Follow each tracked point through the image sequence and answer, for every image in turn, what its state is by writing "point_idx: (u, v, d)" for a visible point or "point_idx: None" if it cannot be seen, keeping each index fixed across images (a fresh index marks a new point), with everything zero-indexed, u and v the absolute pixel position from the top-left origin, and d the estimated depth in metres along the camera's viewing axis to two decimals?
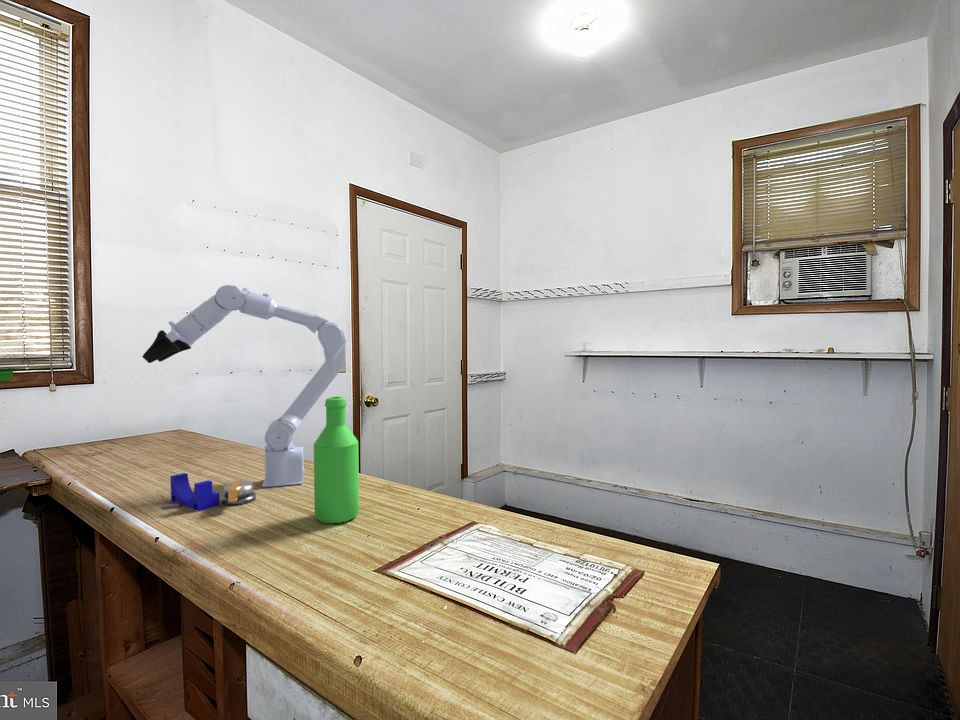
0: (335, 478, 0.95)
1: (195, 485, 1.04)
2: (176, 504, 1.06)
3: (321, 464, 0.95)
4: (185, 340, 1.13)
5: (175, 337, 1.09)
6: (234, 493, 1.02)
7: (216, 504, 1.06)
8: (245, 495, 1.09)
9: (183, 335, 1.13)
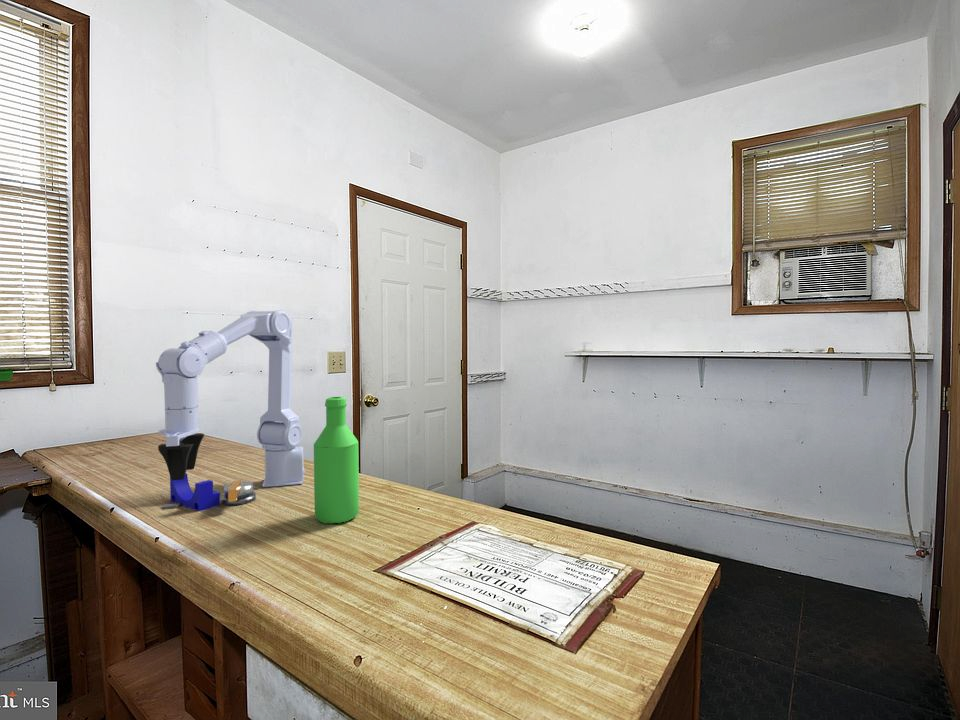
0: (335, 478, 0.95)
1: (196, 485, 1.04)
2: (176, 504, 1.06)
3: (321, 464, 0.95)
4: (188, 433, 0.95)
5: (175, 439, 0.91)
6: (234, 493, 1.02)
7: (217, 504, 1.07)
8: (245, 495, 1.09)
9: (182, 431, 0.95)
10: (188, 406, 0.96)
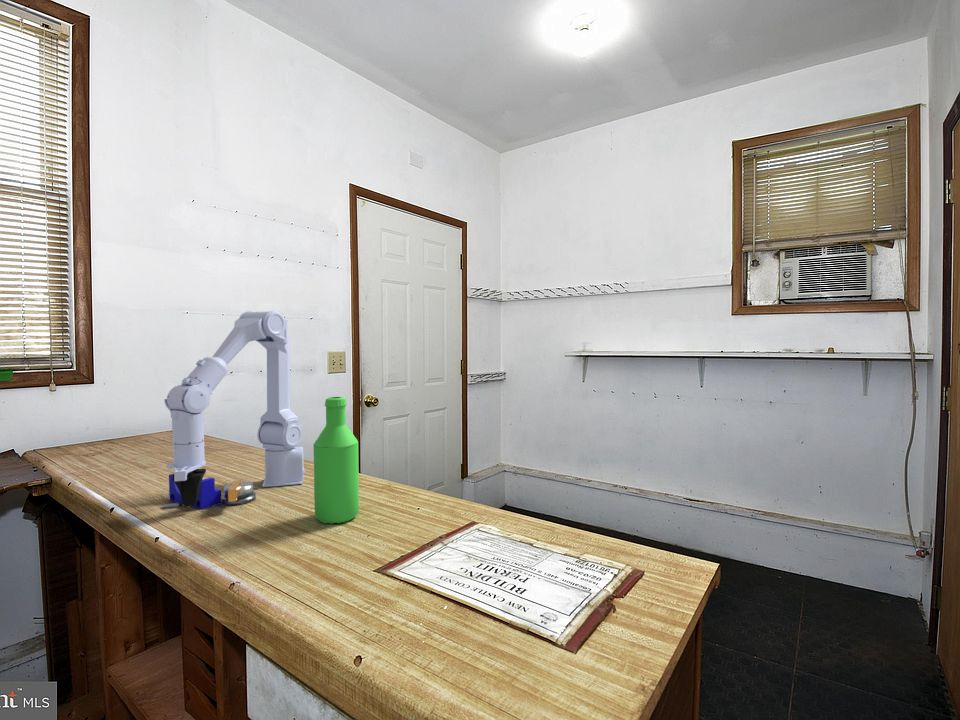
0: (335, 478, 0.95)
1: None
2: (176, 504, 1.06)
3: (321, 464, 0.96)
4: (195, 467, 0.99)
5: (183, 474, 0.95)
6: (234, 493, 1.02)
7: (218, 501, 1.08)
8: (245, 495, 1.09)
9: (189, 465, 0.99)
10: (193, 441, 1.00)
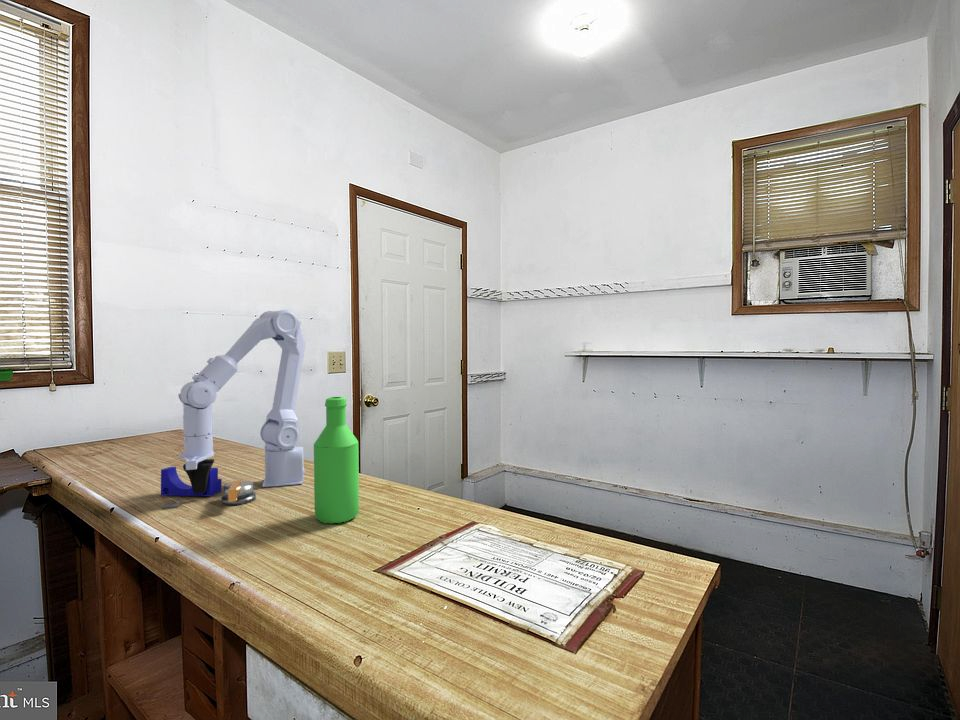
0: (335, 478, 0.95)
1: None
2: (176, 504, 1.06)
3: (321, 464, 0.95)
4: (204, 457, 1.07)
5: (194, 463, 1.03)
6: (234, 493, 1.02)
7: (219, 489, 1.16)
8: (245, 495, 1.09)
9: (199, 455, 1.08)
10: (198, 434, 1.07)
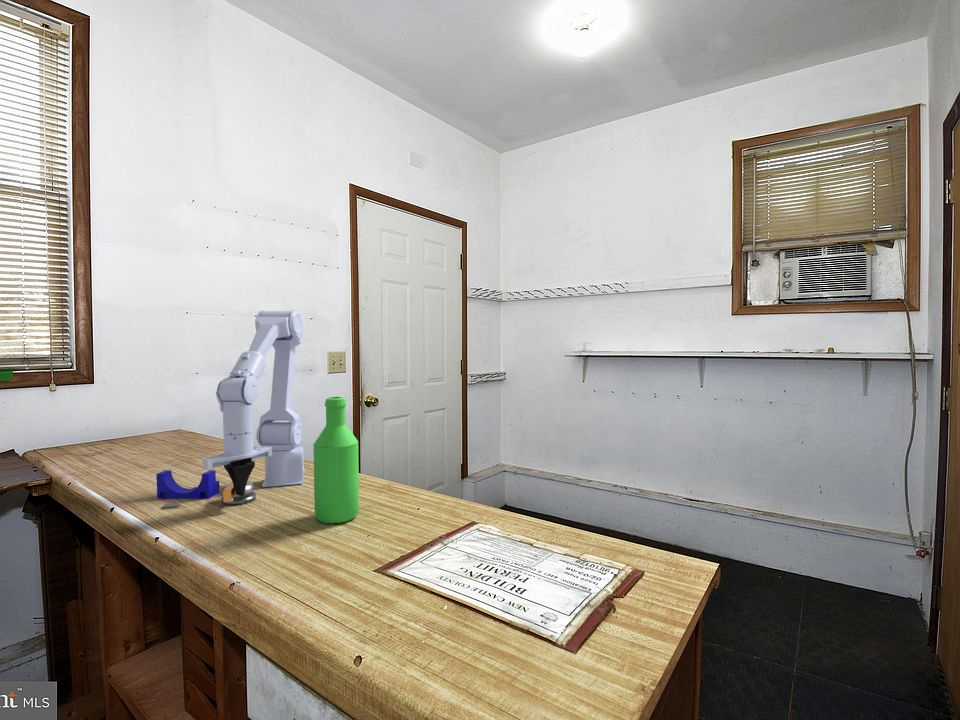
0: (335, 478, 0.95)
1: (203, 475, 1.11)
2: (176, 504, 1.06)
3: (321, 464, 0.95)
4: (227, 458, 1.00)
5: (206, 463, 0.98)
6: (229, 493, 1.02)
7: (217, 491, 1.15)
8: (244, 495, 1.08)
9: (227, 455, 1.02)
10: (248, 431, 1.03)
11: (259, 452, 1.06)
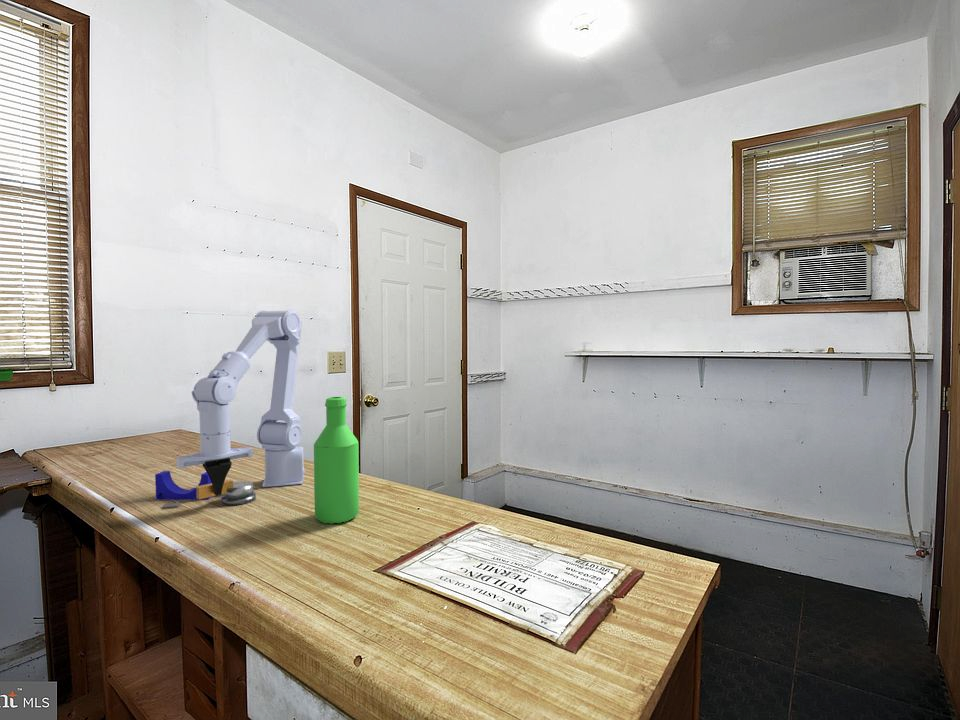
0: (335, 478, 0.95)
1: (202, 476, 1.11)
2: (176, 504, 1.06)
3: (321, 464, 0.96)
4: (199, 458, 1.01)
5: (177, 462, 0.99)
6: (198, 491, 1.04)
7: None
8: (230, 497, 1.07)
9: (202, 455, 1.02)
10: (222, 431, 1.03)
11: (236, 453, 1.06)
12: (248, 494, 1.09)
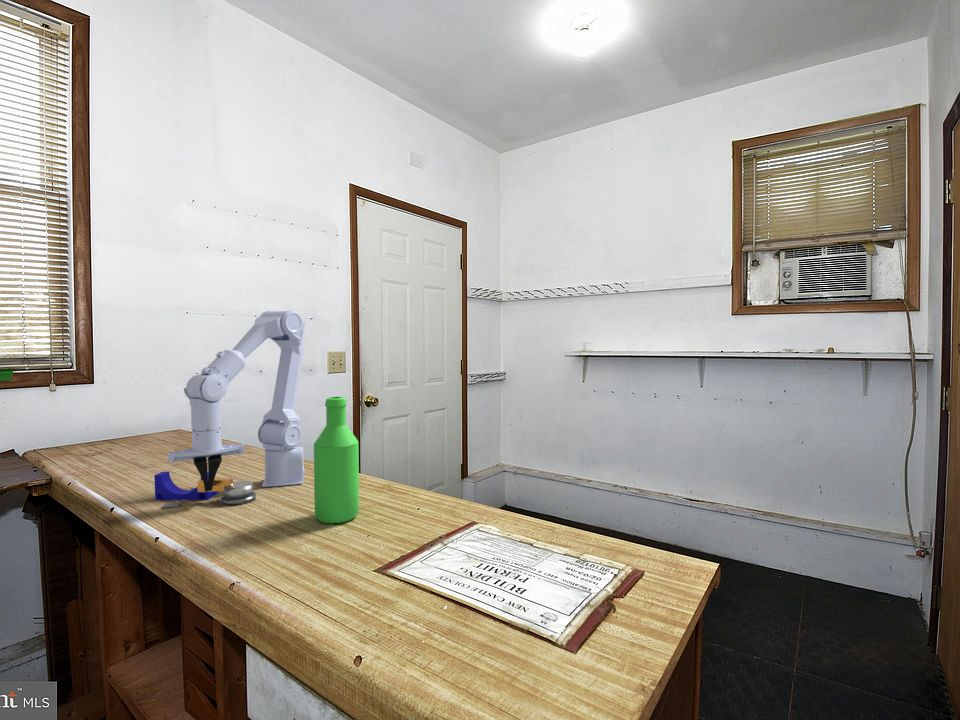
0: (335, 478, 0.95)
1: None
2: (176, 504, 1.06)
3: (321, 464, 0.96)
4: (188, 454, 1.03)
5: (168, 456, 1.02)
6: None
7: (216, 492, 1.15)
8: (224, 495, 1.08)
9: (192, 450, 1.04)
10: (211, 428, 1.04)
11: (226, 450, 1.07)
12: (239, 496, 1.08)
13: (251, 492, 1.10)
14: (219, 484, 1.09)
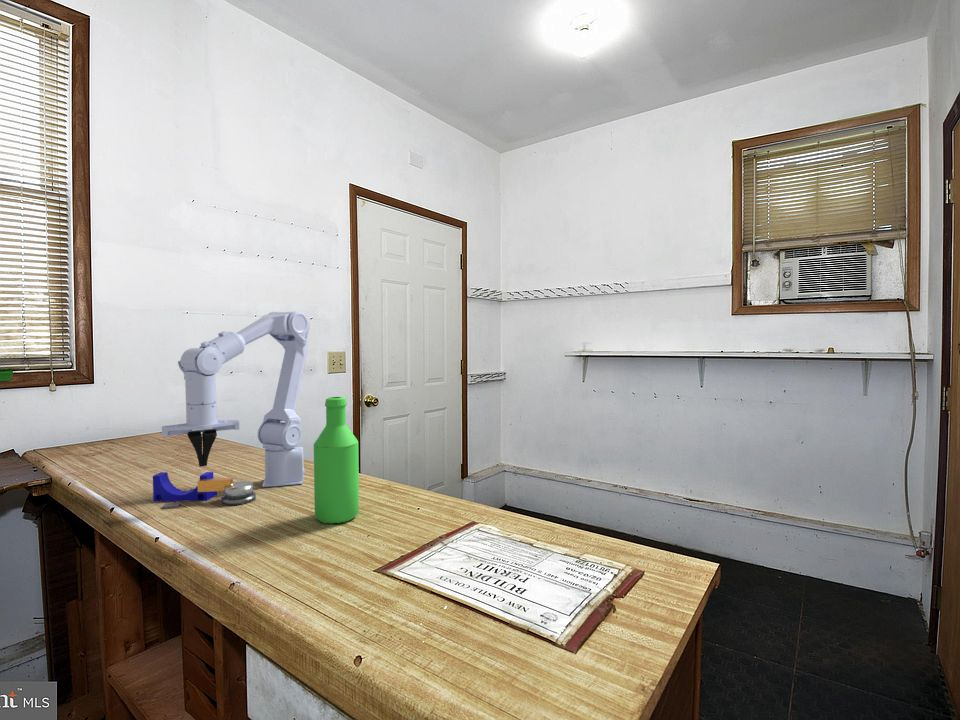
0: (335, 478, 0.95)
1: (201, 477, 1.10)
2: (176, 504, 1.06)
3: (321, 464, 0.96)
4: (182, 427, 1.01)
5: (162, 430, 1.00)
6: None
7: (215, 493, 1.14)
8: (224, 495, 1.08)
9: (186, 424, 1.03)
10: (206, 402, 1.03)
11: (221, 424, 1.05)
12: (238, 496, 1.08)
13: (251, 492, 1.10)
14: (219, 484, 1.09)
